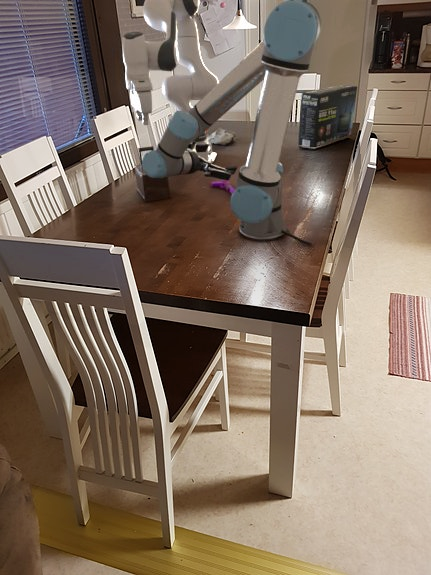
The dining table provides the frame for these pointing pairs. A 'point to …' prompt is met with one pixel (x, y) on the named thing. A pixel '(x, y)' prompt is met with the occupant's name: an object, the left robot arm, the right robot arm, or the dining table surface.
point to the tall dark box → (139, 167)
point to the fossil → (221, 136)
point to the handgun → (223, 183)
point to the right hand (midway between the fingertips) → (220, 159)
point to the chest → (152, 187)
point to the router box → (326, 115)
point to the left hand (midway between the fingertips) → (142, 122)
